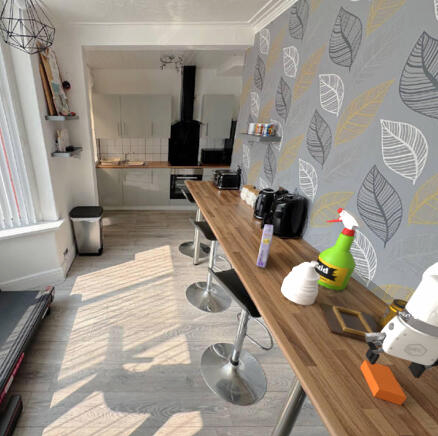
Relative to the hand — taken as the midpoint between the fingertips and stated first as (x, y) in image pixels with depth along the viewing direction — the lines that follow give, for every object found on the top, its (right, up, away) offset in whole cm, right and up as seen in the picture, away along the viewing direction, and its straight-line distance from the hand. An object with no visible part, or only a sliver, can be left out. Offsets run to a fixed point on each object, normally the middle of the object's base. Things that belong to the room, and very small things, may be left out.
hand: (390, 366), depth 65 cm
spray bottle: (+19, +12, +50) cm, 55 cm away
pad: (0, -8, +3) cm, 8 cm away
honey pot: (-2, +8, +38) cm, 39 cm away
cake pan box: (-5, +19, +64) cm, 67 cm away
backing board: (+9, +1, +24) cm, 26 cm away
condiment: (+23, 0, +24) cm, 34 cm away
